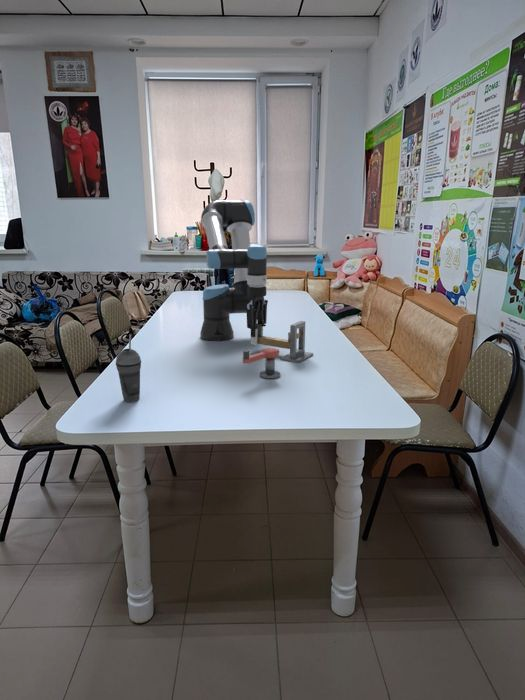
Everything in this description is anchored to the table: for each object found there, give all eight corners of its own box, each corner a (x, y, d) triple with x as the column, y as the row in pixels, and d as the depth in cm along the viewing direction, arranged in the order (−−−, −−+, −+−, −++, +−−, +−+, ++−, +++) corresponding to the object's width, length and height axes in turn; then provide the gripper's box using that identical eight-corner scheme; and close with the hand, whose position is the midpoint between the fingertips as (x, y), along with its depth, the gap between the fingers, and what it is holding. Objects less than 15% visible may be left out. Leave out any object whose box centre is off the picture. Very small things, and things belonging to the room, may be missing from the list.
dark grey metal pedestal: (255, 376, 153) (255, 357, 151) (266, 371, 158) (266, 352, 156) (273, 380, 149) (273, 360, 147) (283, 374, 155) (284, 355, 153)
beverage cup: (121, 395, 136) (115, 331, 131) (146, 394, 137) (141, 331, 131) (116, 404, 129) (109, 337, 124) (142, 403, 130) (136, 337, 124)
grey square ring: (280, 359, 171) (281, 324, 168) (295, 352, 181) (296, 319, 177) (299, 362, 167) (300, 327, 164) (313, 355, 177) (314, 321, 173)
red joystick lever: (250, 365, 141) (250, 353, 140) (237, 361, 145) (237, 350, 144) (282, 355, 152) (282, 344, 151) (269, 352, 156) (269, 341, 155)
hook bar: (250, 343, 182) (250, 324, 180) (255, 341, 185) (255, 322, 183) (295, 350, 172) (296, 330, 170) (300, 348, 175) (300, 328, 173)
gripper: (253, 289, 168) (253, 349, 174) (275, 284, 181) (275, 339, 188) (237, 287, 171) (237, 346, 178) (259, 282, 185) (259, 337, 192)
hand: (256, 342), depth 183 cm, fingers closed on hook bar, 4 cm apart
